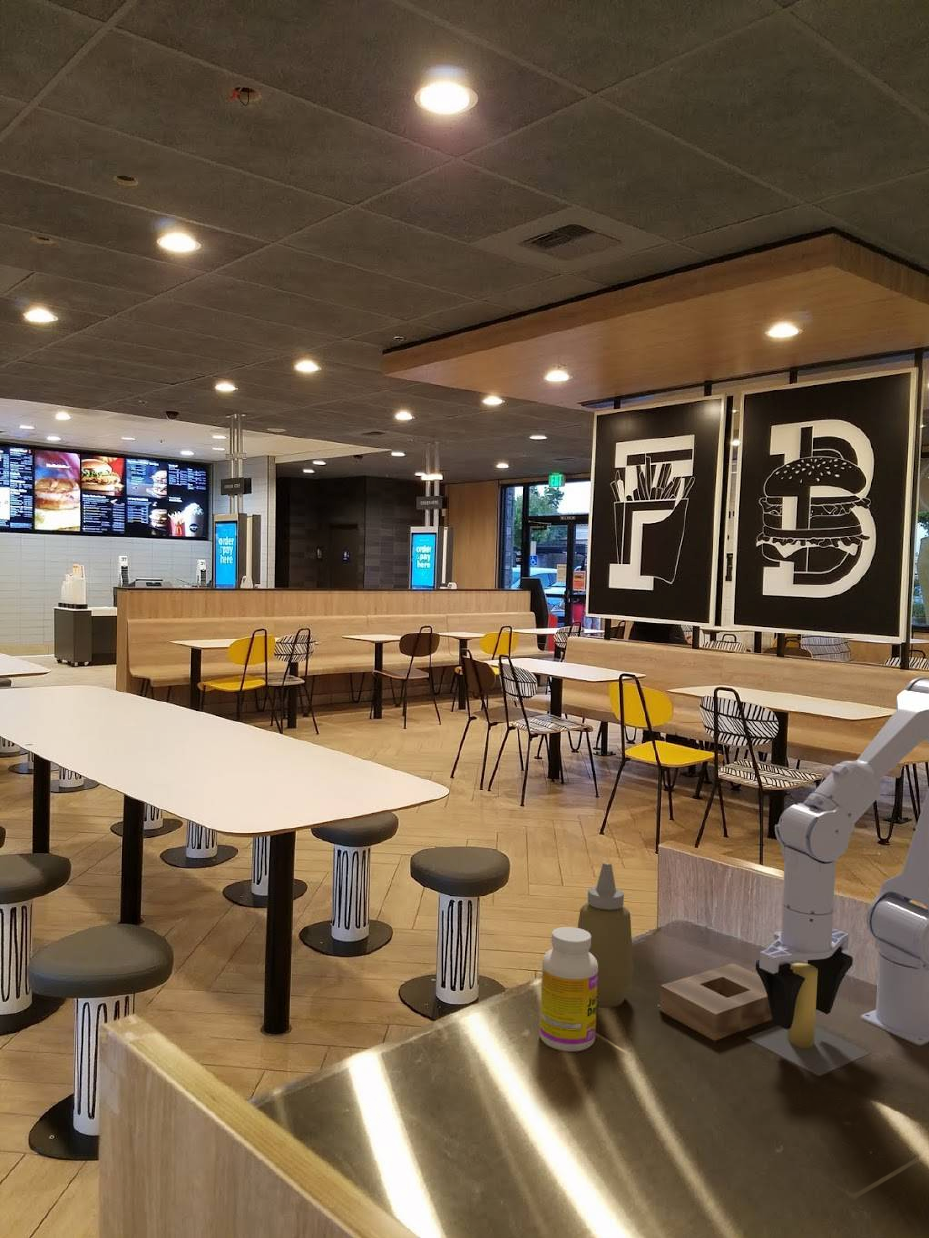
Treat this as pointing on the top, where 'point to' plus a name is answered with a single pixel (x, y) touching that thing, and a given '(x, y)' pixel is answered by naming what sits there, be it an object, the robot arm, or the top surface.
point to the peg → (804, 1007)
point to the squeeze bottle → (609, 938)
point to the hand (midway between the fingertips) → (801, 1017)
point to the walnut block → (717, 1001)
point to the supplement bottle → (569, 991)
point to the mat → (810, 1050)
